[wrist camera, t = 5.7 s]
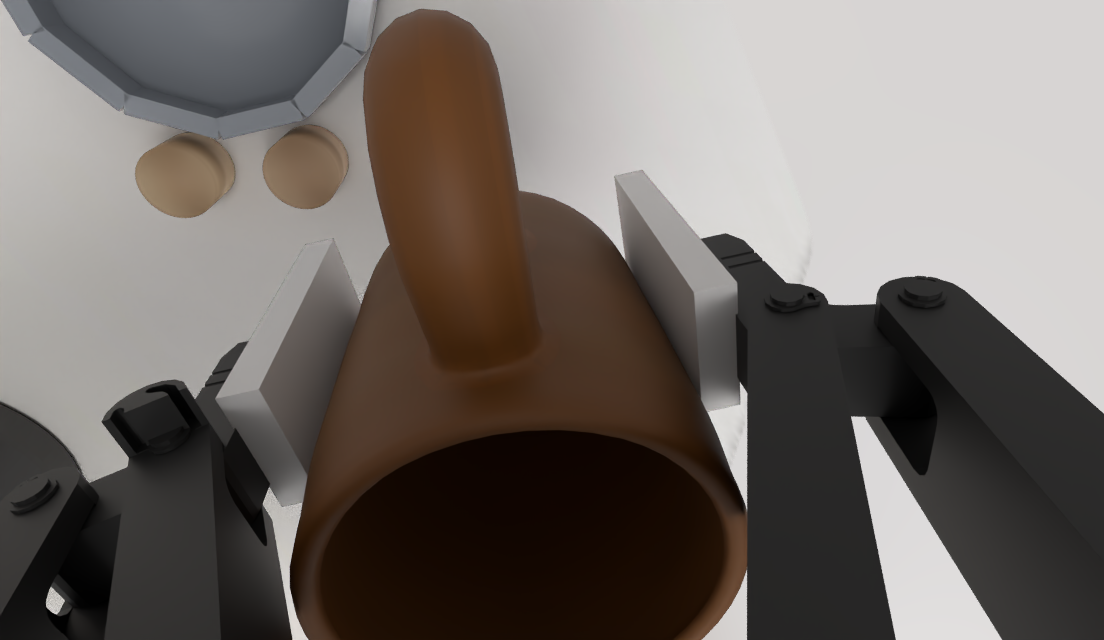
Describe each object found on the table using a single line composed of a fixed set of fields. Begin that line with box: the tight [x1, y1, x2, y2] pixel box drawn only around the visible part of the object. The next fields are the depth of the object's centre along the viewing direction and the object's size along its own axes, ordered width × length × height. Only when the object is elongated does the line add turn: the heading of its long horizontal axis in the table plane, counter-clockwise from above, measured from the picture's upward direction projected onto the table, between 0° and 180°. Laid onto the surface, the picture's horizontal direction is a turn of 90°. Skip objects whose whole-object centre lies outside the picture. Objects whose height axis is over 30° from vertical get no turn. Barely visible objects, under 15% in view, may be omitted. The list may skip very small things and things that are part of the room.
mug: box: [290, 9, 747, 640], centre depth 12 cm, size 12×8×9 cm, turn 7°
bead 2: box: [263, 125, 349, 209], centre depth 32 cm, size 4×4×3 cm
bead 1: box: [135, 132, 235, 218], centre depth 31 cm, size 4×4×3 cm
